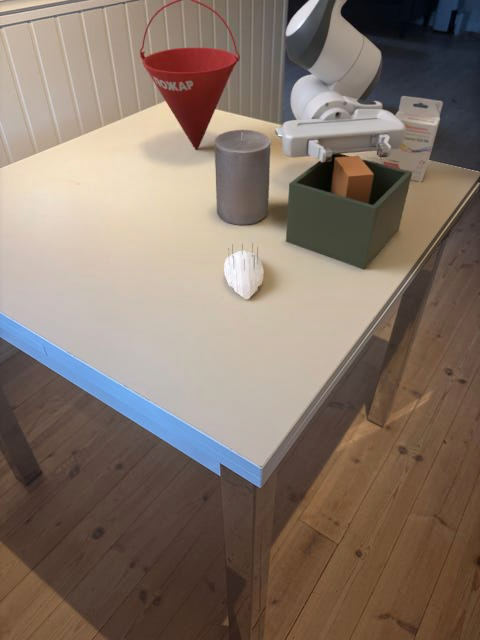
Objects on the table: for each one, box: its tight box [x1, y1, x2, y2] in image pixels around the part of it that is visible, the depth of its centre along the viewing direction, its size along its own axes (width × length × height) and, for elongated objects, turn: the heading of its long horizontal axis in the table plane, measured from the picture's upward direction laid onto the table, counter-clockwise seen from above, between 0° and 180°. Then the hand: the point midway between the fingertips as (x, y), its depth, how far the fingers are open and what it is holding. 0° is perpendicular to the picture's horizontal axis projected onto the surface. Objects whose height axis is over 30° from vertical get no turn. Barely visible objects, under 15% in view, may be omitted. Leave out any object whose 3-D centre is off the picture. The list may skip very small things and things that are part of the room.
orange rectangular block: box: [331, 155, 374, 204], centre depth 81 cm, size 4×7×12 cm, turn 9°
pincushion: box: [223, 242, 265, 300], centre depth 75 cm, size 12×6×6 cm, turn 4°
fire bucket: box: [139, 0, 241, 150], centre depth 104 cm, size 22×20×30 cm
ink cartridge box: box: [383, 95, 444, 183], centre depth 98 cm, size 9×5×15 cm, turn 65°
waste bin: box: [285, 153, 412, 270], centre depth 82 cm, size 15×15×11 cm
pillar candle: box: [214, 129, 272, 226], centre depth 87 cm, size 10×10×15 cm
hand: (356, 155), depth 75 cm, fingers open, 8 cm apart
